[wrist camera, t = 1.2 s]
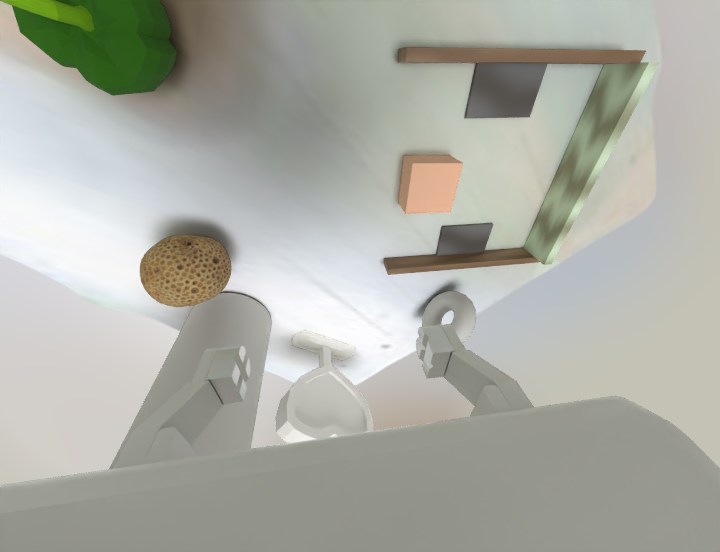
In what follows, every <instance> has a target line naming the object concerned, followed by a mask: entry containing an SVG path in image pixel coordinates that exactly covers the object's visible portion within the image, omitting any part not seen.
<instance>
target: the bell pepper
mask: <svg viewBox="0 0 720 552" xmlns="http://www.w3.org/2000/svg"><path fill="white" fill-rule="evenodd" d="M0 1H3V2H5V3H7V4H10V5H12V7H13V10H14V13H15V17H16V20H17V23H18V26H19V29H20V32H21V33H22V34H23V35H24V36H26V37H27V38H28V39H29V40H30V41H32V42H33V43H34V44H35V45H36V46H38V47H39V48H40V49H41V50H42V51H44V52H45V53H46V54H47V55H49V56H50V57H51V58H52V59H53V60H55V61H56V62H58V63H59V64H61V65H62V66H65V67H72V68H77V69H78V70H79V72H80V73H81V74H82V75H83V77H84V78H85V79H86V81H88V82H89V83H91V84H92V85H94V86H95V87H97V88H99V89H101V90H103V91H105V92H107V93H109V94H111V95H122V94H132V93H143V92H149V91H154V90H155V89H156V88H157V87H158V86H159V85H160V84H161V83H162V81H163V80H164V79H165V78H166V76H167V75H168V74H169V73H170V71H171V70H172V69H173V67H174V64H175V59H176V54H177V51H176V49H175V48H174V47H173V46H172V44H171V43H170V42H169V37H170V35H171V32H172V30H171V27H170V24H169V20H168V17H167V14H166V11H165V8H164V7H163V5H162V4H161V2H160V1H159V0H0Z"/></svg>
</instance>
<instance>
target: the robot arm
mask: <svg viewBox="0 0 720 552" xmlns="http://www.w3.org/2000/svg"><path fill="white" fill-rule="evenodd" d="M418 334H419V337H418V338H417V340H416V350H417V354H418V356H419V359H421V360H422V361H423V365H422V367H423V370H424V372H425V375H426V377H427V378H435V377H444V378H445V379H446V380H447V381H449V382H450V383H451V384H452V385H453V386H454V387H455V388H456V389H457V390H458V391H459V392H460V393H461V394H462V395H463V396H465V397H466V398H467V399H468V400H469V401H470V402H471V403H472V404H473V405H474V406H475V407H474V409H473V411H472V413H471V415H470V417H465V418H459V419H452V420H445V421H438V422H431V423H424V424H418V425H411V426H404V427H397V428H390V429H383V430H376V431H369V432H362V433H355V434H348V435H342V436H335V437H328V438H321V439H314V440H307V441H301V442H294V443H287V444H280V445H273V446H266V447H260V448H253V449H246V450H239V451H232V452H225V453H218V454H212V455H205V456H199V455H198V453H197V452H196V451H195V450H194V449H193V448H192V445H193V443H194V442H195V441H196V440H197V438H198V437H199V436H200V435H201V433H202V432H203V431H204V430H205V428H206V427H207V426H208V424H209V423H210V422H211V421H212V419H213V418H214V417H215V416H216V414H217V413H218V412H219V411H220V409H221V408H222V407H223V405H224V404H230V403H237V402H243V401H244V397H245V393H246V389H247V387H246V384H245V382H246V381H247V380H248V379H249V375H250V361H249V358H248V357H247V356H245V352H246V350H245V348H244V346H236V347H223V348H213V349H207V350H206V351H205V352H204V354H203V356H202V358H201V361H200V363H199V365H198V368H197V370H196V372H195V375H194V377H193V380H192V382H189V383H187V384H186V385H185V386H183V387H182V388H181V389H180V390H179V391H178V392H177V393H176V394H174V395H173V396H172V397H171V398H170V399H169V400H168V401H167V402H165V403H164V404H163V405H162V406H161V407H160V408H159V409H158V410H156V411H155V412H154V413H153V414H152V415H151V416H150V417H149V418H147V419H146V420H145V421H144V422H143V423H142V424H141V425H140V426H138V427H137V428H136V429H135V430H134V431H133V432H132V434H131V436H130V438H129V440H128V441H127V443H126V445H125V447H124V449H123V451H122V453H121V455H120V456H119V458H118V460H117V462H116V464H115V466H114V468H113V469H108V470H101V471H95V472H88V473H81V474H74V475H67V476H61V477H53V478H46V479H39V480H32V481H26V482H18V483H11V484H4V485H0V552H720V468H719V467H718V466H717V465H716V464H715V463H714V462H713V461H712V460H711V459H710V458H709V457H708V456H707V455H706V454H705V453H704V452H703V451H702V450H701V449H700V448H699V447H698V446H697V445H696V444H695V443H694V442H693V441H692V440H691V439H690V438H689V437H688V436H687V435H685V434H684V433H683V432H682V431H681V430H680V429H678V428H677V427H676V426H675V425H673V424H672V423H670V422H669V421H667V420H665V419H663V418H662V417H660V416H658V415H656V414H654V413H652V412H651V411H649V410H647V409H645V408H643V407H641V406H639V405H637V404H635V403H633V402H631V401H629V400H627V399H625V398H622V397H617V396H610V397H602V398H596V399H589V400H582V401H575V402H568V403H561V404H555V405H547V406H540V407H534V406H533V405H532V403H531V402H530V400H529V399H528V398H527V396H526V395H525V393H524V392H523V390H522V389H521V387H520V386H519V384H518V383H517V381H515V380H514V379H512V378H511V377H509V376H508V375H506V374H505V373H503V372H502V371H500V370H499V369H497V368H496V367H494V366H493V365H491V364H490V363H488V362H487V361H485V360H484V359H482V358H481V357H479V356H478V355H476V354H475V353H473V352H472V351H470V350H466V349H465V347H464V345H463V344H462V342H461V340H460V339H459V337H458V335H457V333H456V332H455V330H454V328H453V327H452V325H451V324H445V325H434V326H426V327H420V328H419V330H418Z"/></svg>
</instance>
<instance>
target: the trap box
mask: <svg viewBox="0 0 720 552" xmlns="http://www.w3.org/2000/svg"><path fill="white" fill-rule="evenodd" d="M645 52H646V51H638V50H569V49H500V48H431V47H406V48H402V49H399V52H398V62H411V63H476V66H475V70H474V75H473V80H472V85H471V89H470V94H469V99H468V104H467V109H466V113H465V118H508V117H530V114H531V111H532V108H533V105H534V102H535V99H536V96H537V93H538V90H539V87H540V85H541V82H542V79H543V76H544V73H545V70H546V67H547V64H604V66H603V69H602V71H601V73H600V75H599V78H598V80H597V82H596V84H595V87H594V89H593V91H592V94H591V96H590V98H589V100H588V103H587V105H586V107H585V109H584V112H583V114H582V116H581V118H580V121H579V123H578V125H577V128H576V130H575V132H574V134H573V137H572V139H571V141H570V143H569V146H568V148H567V150H566V153H565V155H564V157H563V159H562V162H561V164H560V166H559V168H558V171H557V173H556V175H555V178H554V180H553V182H552V184H551V187H550V189H549V191H548V193H547V196H546V198H545V200H544V202H543V205H542V207H541V209H540V212H539V214H538V216H537V218H536V221H535V223H534V225H533V227H532V230H531V232H530V234H529V237H528V239H527V241H526V243H525V246H524V248H514V249H501V250H488V251H484V250H485V247H486V244H487V241H488V238H489V235H490V232H491V229H492V226H493V224H492V223H484V224H468V225H453V226H442V228H441V233H440V237H439V242H438V247H437V252H436V254H435V255H421V256H408V257H395V258H384V265H385V268H386V271H387V274H388V275H391V274H403V273H415V272H427V271H439V270H452V269H464V268H476V267H488V266H500V265H512V264H524V263H536V262H541V263H542V264H544V265H547V264H552V262H553V260H554V258H555V256H556V254H557V252H558V251H559V249H560V247H561V245H562V243H563V241H564V239H565V238H566V236H567V234H568V232H569V230H570V228H571V226H572V225H573V223H574V221H575V219H576V217H577V215H578V213H579V211H580V210H581V208H582V206H583V204H584V202H585V200H586V198H587V197H588V195H589V193H590V191H591V189H592V187H593V185H594V184H595V182H596V180H597V178H598V176H599V174H600V172H601V171H602V169H603V167H604V165H605V163H606V161H607V159H608V158H609V156H610V154H611V152H612V150H613V148H614V146H615V145H616V143H617V141H618V139H619V137H620V135H621V133H622V132H623V130H624V128H625V126H626V124H627V122H628V120H629V119H630V117H631V115H632V113H633V111H634V109H635V107H636V106H637V104H638V102H639V100H640V98H641V96H642V94H643V93H644V91H645V89H646V87H647V85H648V83H649V81H650V80H651V78H652V76H653V74H654V72H655V70H656V68H657V67H658V65H659V63H640V62H641V60H642V58H643V56H644V54H645Z"/></svg>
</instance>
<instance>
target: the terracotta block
mask: <svg viewBox="0 0 720 552" xmlns="http://www.w3.org/2000/svg"><path fill="white" fill-rule="evenodd" d="M462 165H463V163H462V162H460V161H459V160H457V159H455V158H454V157H452V156H450V155H404V157H403V165H402V174H401V182H400V190H399V199H398V203H399V204H400V206H401V207H402V209H403V210H404V212H405V214H410V213H444V212H451V209H452V205H453V201H454V197H455V193H456V189H457V185H458V181H459V177H460V173H461V169H462Z"/></svg>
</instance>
